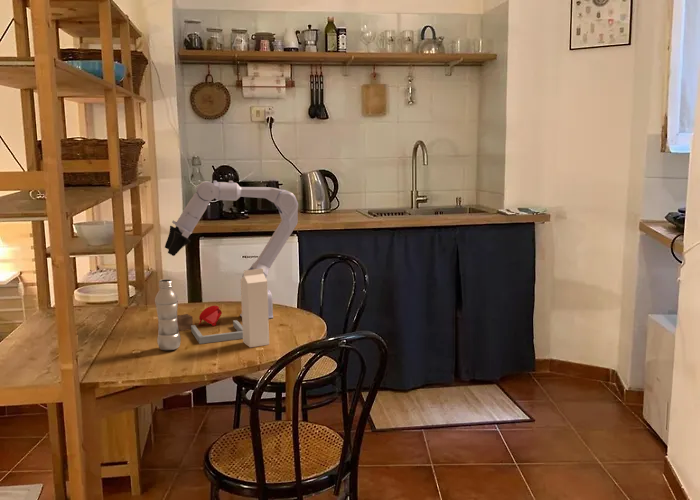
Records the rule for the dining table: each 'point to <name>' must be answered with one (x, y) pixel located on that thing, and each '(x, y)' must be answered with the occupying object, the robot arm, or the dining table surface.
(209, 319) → the cap
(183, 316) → the walnut block
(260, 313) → the milk
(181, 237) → the robot arm
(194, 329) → the tray frame
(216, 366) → the dining table surface
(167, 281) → the plastic bottle
